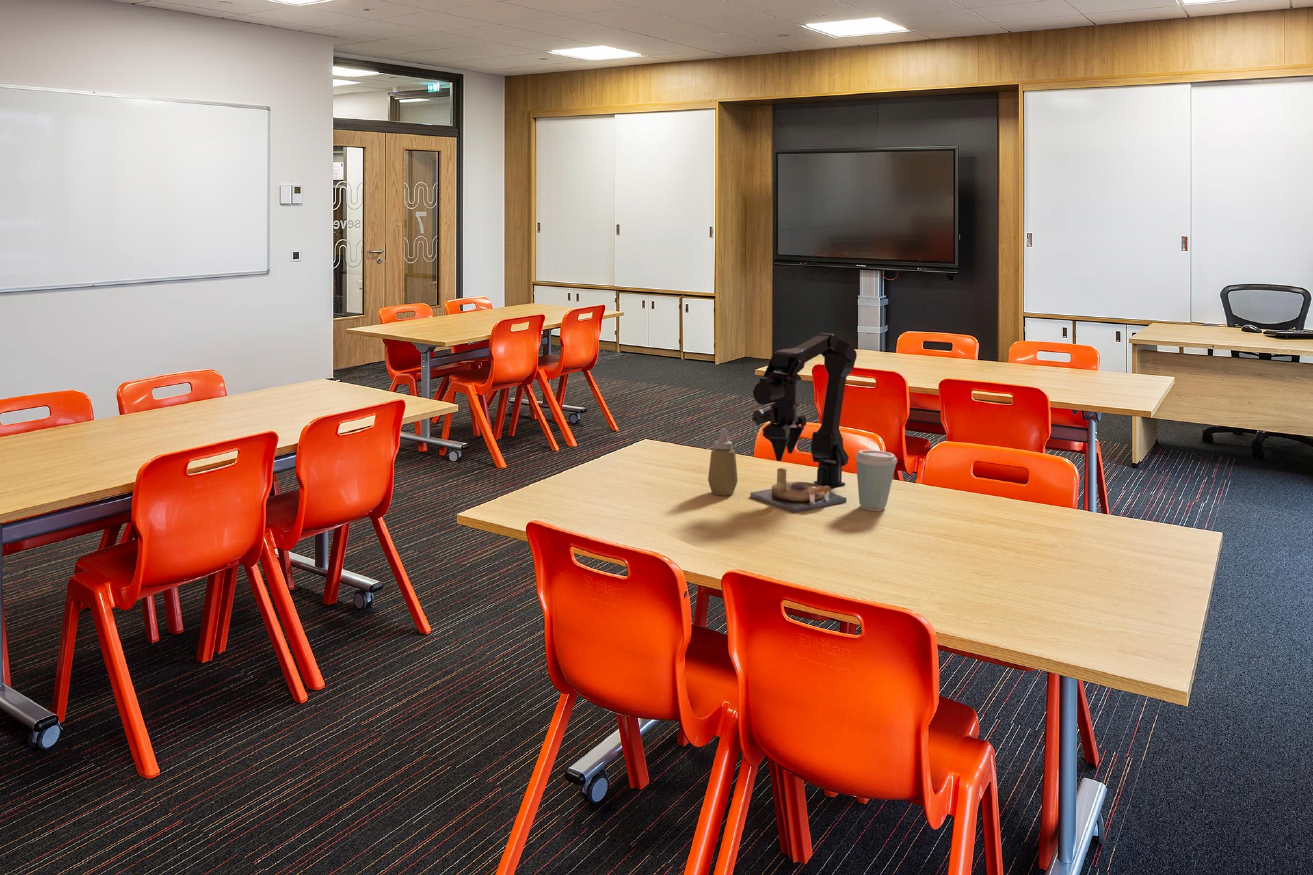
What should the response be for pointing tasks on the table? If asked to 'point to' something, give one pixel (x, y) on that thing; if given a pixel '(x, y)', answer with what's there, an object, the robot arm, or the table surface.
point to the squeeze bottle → (723, 467)
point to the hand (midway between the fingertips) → (784, 457)
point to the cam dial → (793, 488)
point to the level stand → (800, 505)
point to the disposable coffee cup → (874, 478)
